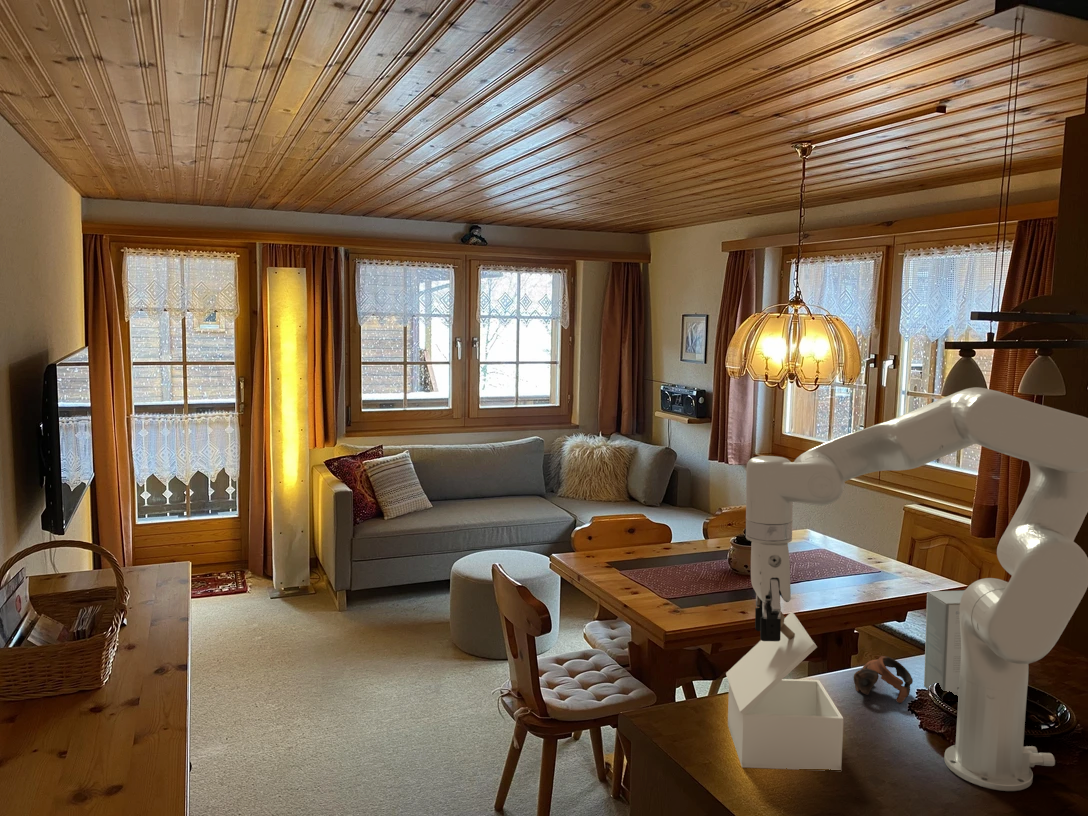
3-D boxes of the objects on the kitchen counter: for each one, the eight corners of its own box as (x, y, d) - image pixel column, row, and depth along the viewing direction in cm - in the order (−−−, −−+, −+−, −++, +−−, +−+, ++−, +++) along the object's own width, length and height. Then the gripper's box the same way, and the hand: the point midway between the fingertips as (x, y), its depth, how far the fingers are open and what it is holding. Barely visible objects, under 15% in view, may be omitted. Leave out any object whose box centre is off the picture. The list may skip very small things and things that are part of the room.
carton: (817, 727, 142) (819, 680, 141) (841, 771, 128) (843, 718, 128) (727, 724, 143) (729, 677, 142) (741, 767, 130) (743, 715, 129)
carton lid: (794, 614, 141) (766, 587, 141) (817, 647, 126) (786, 617, 126) (728, 676, 143) (701, 649, 143) (743, 715, 128) (712, 685, 128)
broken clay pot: (870, 680, 163) (894, 651, 160) (902, 718, 156) (927, 689, 153) (832, 677, 157) (856, 648, 154) (863, 717, 150) (888, 687, 147)
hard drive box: (996, 684, 160) (1002, 589, 158) (1020, 702, 152) (1027, 602, 150) (921, 685, 160) (926, 589, 158) (941, 703, 152) (947, 603, 150)
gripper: (804, 543, 124) (802, 655, 126) (780, 518, 140) (778, 618, 142) (755, 543, 124) (754, 655, 126) (737, 518, 141) (736, 617, 143)
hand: (767, 634), depth 134 cm, fingers closed on carton lid, 3 cm apart
